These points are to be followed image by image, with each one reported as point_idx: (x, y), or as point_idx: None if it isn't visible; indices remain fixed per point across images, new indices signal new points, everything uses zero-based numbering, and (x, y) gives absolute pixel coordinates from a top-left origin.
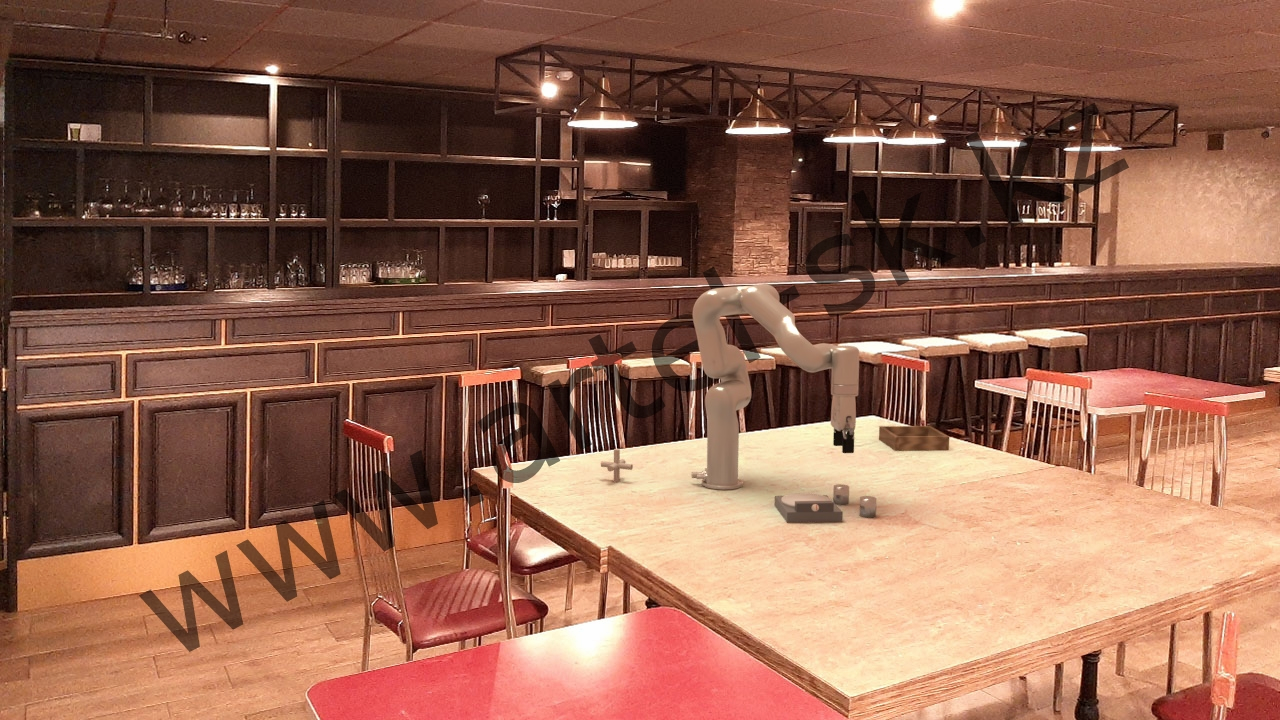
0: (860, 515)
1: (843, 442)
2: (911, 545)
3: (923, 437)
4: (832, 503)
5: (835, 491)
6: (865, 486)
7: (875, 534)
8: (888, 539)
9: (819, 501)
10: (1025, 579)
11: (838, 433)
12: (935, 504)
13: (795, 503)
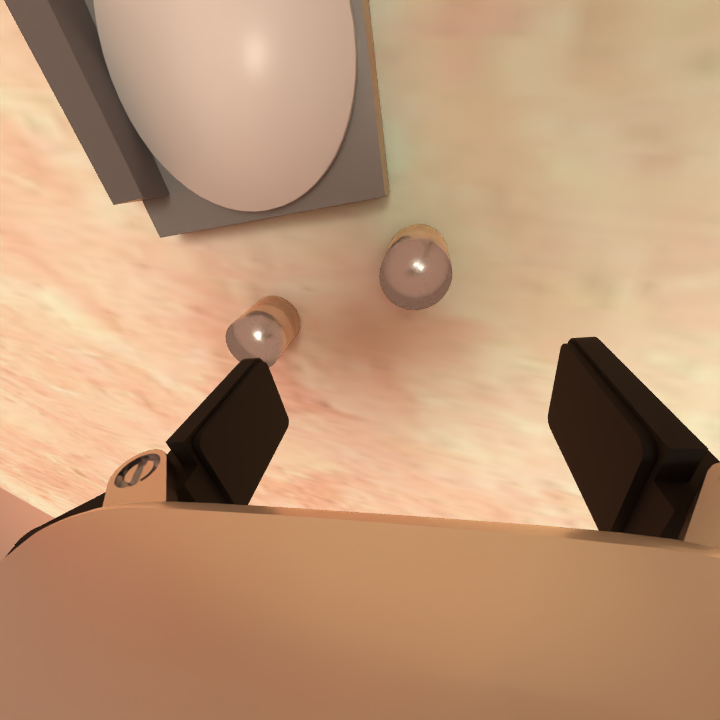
0: (263, 298)
1: (194, 420)
2: (86, 363)
3: None
4: (110, 198)
5: (396, 242)
6: (660, 381)
7: (117, 306)
8: (97, 328)
9: (102, 132)
10: (39, 457)
11: (624, 482)
12: (414, 480)
13: None
